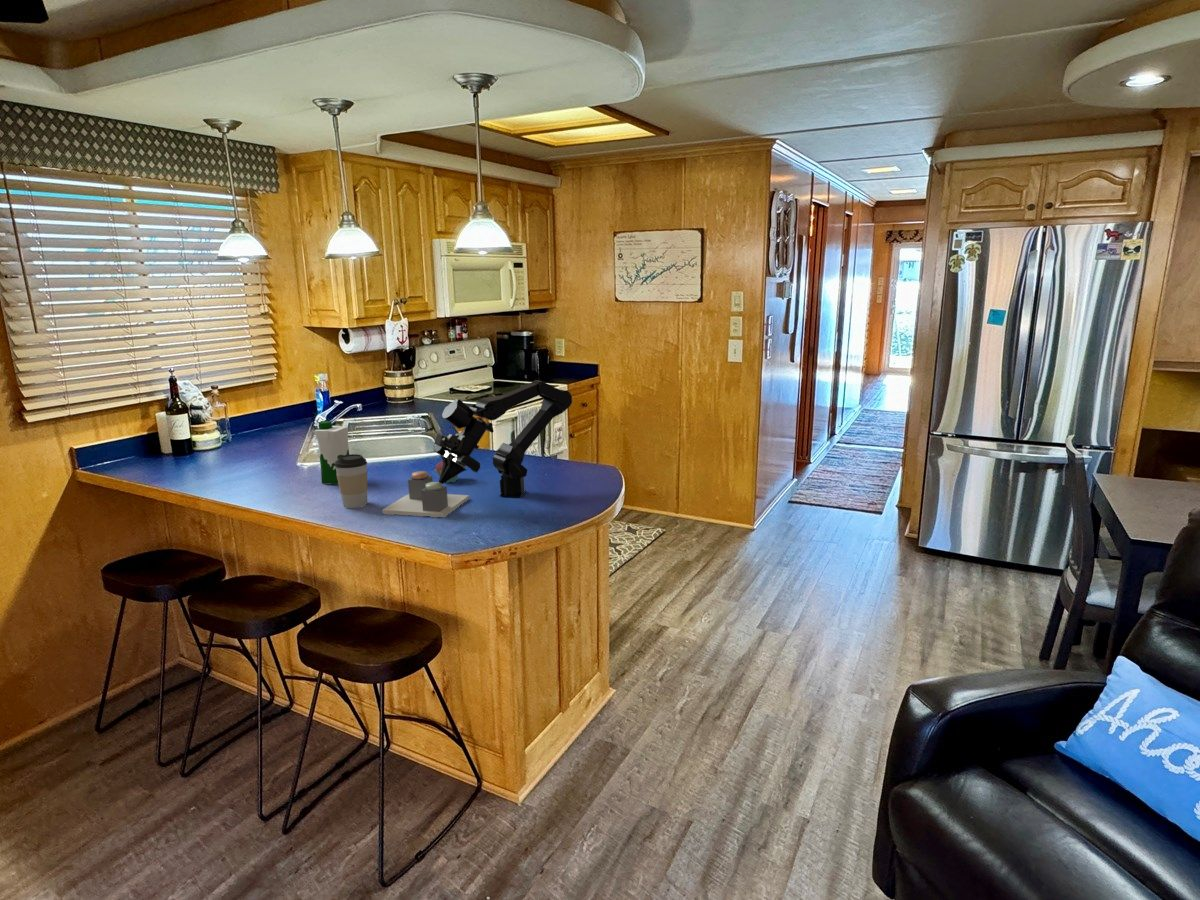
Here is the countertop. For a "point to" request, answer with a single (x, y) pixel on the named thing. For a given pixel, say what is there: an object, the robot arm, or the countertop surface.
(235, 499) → the countertop surface
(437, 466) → the cupcake
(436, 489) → the sage button
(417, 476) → the terracotta button
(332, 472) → the milk carton
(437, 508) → the grey button stand
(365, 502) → the coffee cup
